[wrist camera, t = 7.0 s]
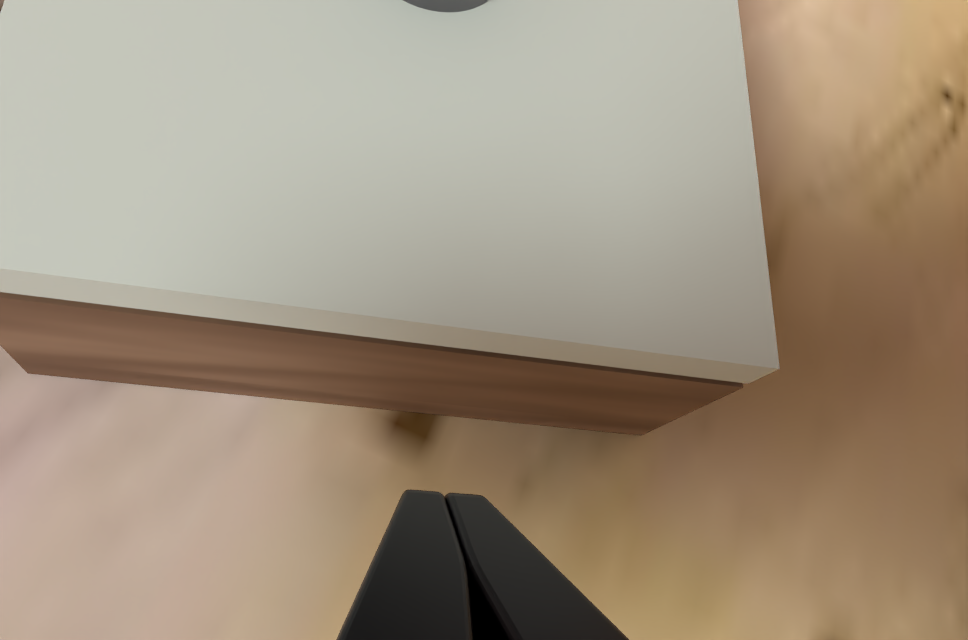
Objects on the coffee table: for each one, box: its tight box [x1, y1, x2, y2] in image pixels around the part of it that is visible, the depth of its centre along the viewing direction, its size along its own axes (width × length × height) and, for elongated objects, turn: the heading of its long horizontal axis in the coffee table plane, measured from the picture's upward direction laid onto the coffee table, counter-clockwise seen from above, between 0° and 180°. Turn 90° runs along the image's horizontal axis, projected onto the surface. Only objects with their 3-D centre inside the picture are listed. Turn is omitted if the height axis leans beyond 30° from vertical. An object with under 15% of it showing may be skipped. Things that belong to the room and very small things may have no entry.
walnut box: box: [0, 292, 743, 435], centre depth 18 cm, size 14×14×4 cm
